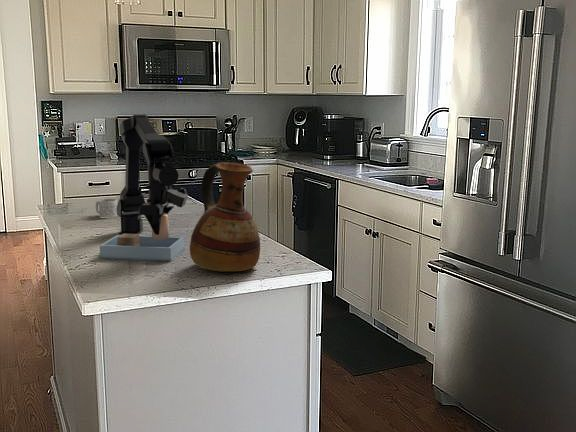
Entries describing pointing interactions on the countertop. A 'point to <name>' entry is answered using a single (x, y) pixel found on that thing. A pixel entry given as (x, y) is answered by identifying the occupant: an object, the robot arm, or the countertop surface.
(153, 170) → the robot arm
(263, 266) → the countertop surface
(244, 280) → the countertop surface
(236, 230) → the ceramic pitcher
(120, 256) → the tote
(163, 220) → the brown egg
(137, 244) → the walnut block
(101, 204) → the mug
